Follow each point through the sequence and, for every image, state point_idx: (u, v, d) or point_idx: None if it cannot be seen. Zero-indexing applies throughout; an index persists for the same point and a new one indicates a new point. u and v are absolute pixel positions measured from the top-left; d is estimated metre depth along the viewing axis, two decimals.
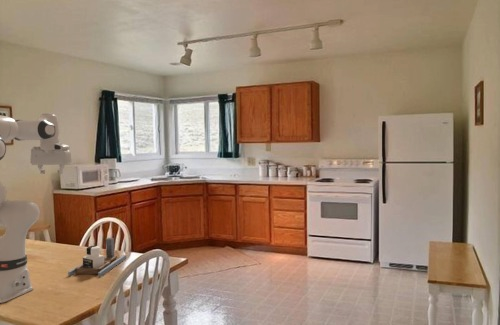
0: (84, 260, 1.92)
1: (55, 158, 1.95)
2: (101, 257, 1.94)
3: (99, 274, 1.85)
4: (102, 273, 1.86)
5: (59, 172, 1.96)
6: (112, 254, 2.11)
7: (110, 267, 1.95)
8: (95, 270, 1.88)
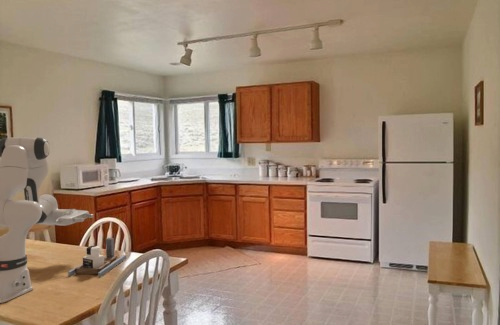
0: (84, 260, 1.92)
1: (78, 213, 2.16)
2: (101, 257, 1.94)
3: (99, 274, 1.85)
4: (102, 273, 1.86)
5: (91, 214, 2.17)
6: (112, 254, 2.11)
7: (110, 267, 1.95)
8: (95, 270, 1.88)
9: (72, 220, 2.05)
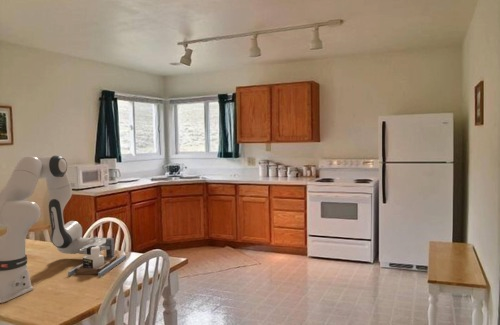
0: (84, 260, 1.92)
1: (101, 241, 2.16)
2: (101, 257, 1.94)
3: (99, 274, 1.85)
4: (102, 273, 1.86)
5: None
6: (112, 254, 2.11)
7: (110, 267, 1.95)
8: (95, 270, 1.88)
9: None
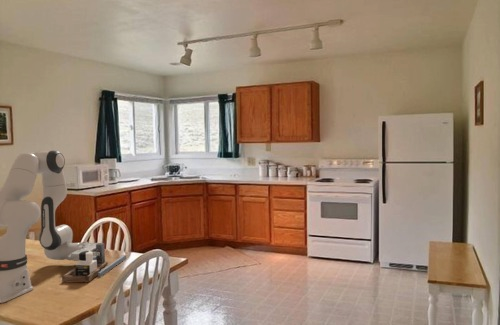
0: (77, 267, 1.81)
1: (91, 246, 2.05)
2: (95, 262, 1.86)
3: (99, 274, 1.85)
4: (102, 273, 1.86)
5: None
6: (102, 260, 2.01)
7: (110, 267, 1.95)
8: (83, 278, 1.77)
9: None
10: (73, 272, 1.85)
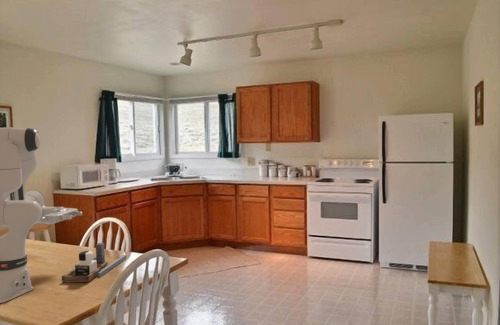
0: (77, 267, 1.81)
1: (66, 210, 2.05)
2: (95, 262, 1.86)
3: (99, 274, 1.85)
4: (102, 273, 1.86)
5: (80, 212, 2.06)
6: (102, 260, 2.00)
7: (110, 267, 1.95)
8: (83, 278, 1.77)
9: (59, 218, 1.94)
10: (73, 272, 1.85)
